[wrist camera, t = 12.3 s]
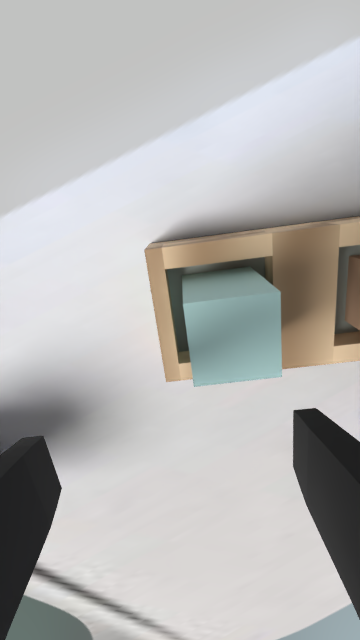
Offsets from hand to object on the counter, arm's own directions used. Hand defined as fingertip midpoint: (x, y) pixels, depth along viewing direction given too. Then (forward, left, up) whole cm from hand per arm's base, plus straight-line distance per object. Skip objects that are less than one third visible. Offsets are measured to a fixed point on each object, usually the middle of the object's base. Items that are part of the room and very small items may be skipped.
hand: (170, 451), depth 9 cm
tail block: (-1, -3, -8) cm, 9 cm away
